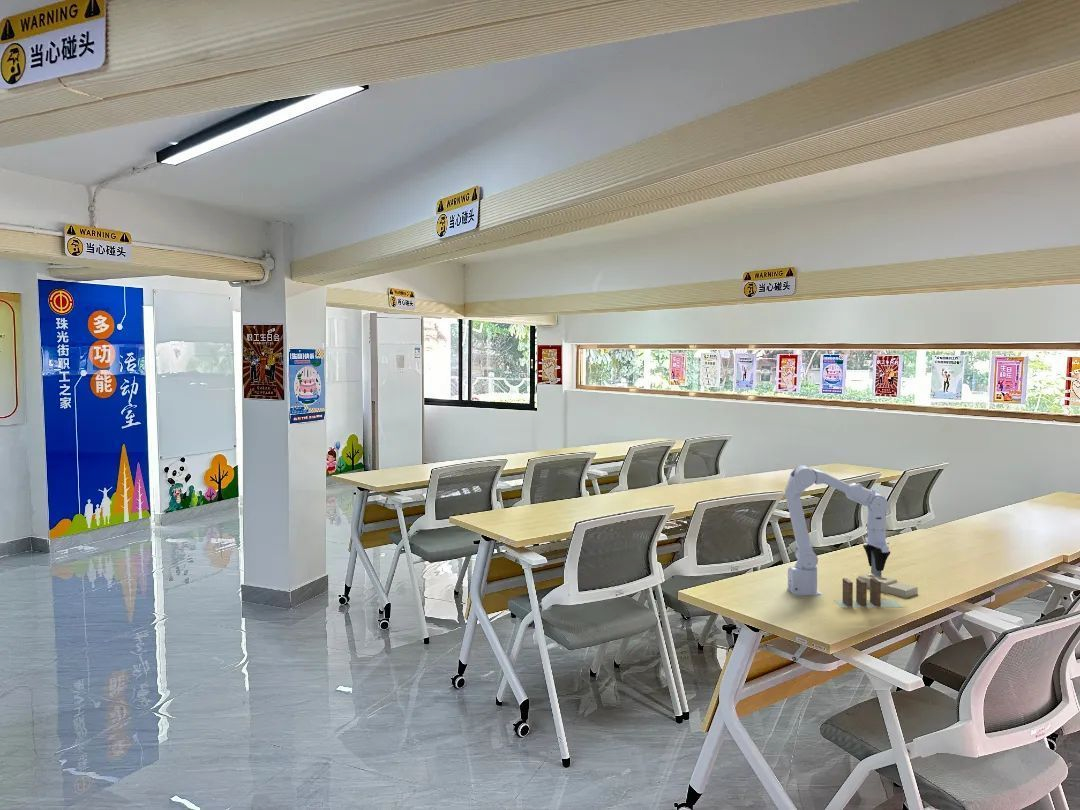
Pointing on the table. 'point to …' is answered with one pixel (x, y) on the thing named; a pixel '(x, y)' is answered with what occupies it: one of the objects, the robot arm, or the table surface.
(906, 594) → the electrical outlet
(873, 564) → the charcoal end domino
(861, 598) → the walnut domino
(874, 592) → the walnut domino
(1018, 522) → the table surface
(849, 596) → the walnut domino
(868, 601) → the sage mat
